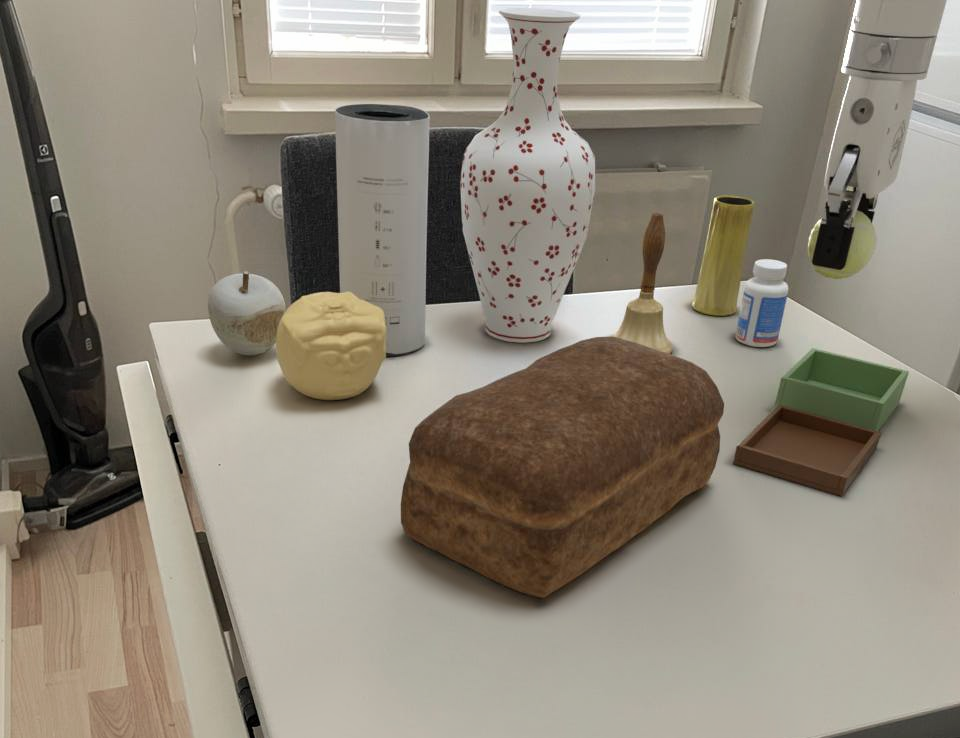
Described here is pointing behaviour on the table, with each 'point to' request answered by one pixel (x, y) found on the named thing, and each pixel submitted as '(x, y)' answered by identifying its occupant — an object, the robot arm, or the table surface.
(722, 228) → the vase
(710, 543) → the table surface
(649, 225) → the hand bell
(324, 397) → the sculpture
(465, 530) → the bread
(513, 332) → the vase
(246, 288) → the decorative object
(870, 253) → the tennis ball
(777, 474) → the walnut tray
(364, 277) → the speaker
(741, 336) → the pill bottle
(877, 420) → the green bin
